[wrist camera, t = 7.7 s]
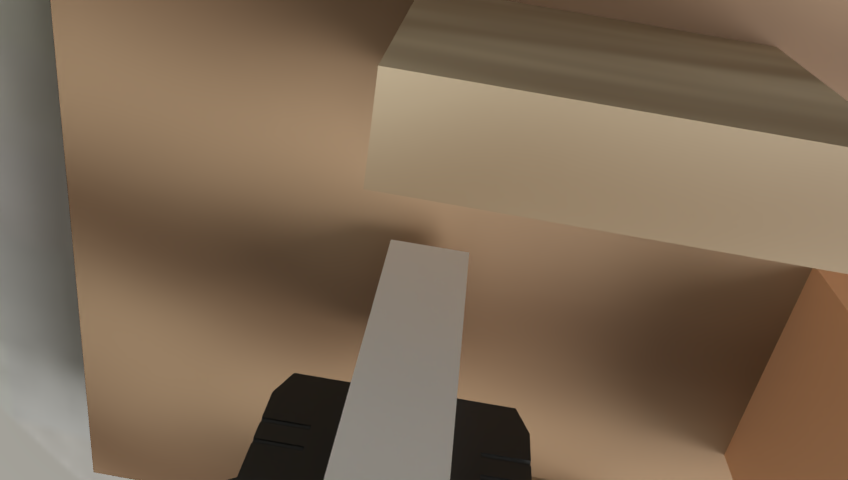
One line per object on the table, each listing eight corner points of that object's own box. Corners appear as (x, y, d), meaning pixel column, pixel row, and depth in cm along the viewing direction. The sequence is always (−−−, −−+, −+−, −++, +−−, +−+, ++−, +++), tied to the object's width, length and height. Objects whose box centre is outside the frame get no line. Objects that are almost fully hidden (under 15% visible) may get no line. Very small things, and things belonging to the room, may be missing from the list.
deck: (120, -148, 15) (-228, -136, 8) (1542, 94, 14) (2526, 336, 7) (144, 394, 21) (-31, 664, 14) (1114, 568, 21) (1417, 932, 14)
